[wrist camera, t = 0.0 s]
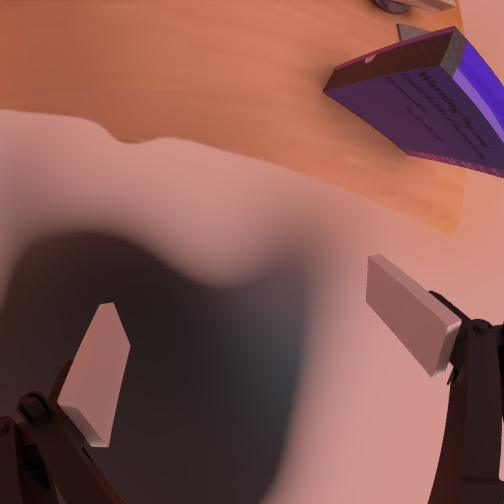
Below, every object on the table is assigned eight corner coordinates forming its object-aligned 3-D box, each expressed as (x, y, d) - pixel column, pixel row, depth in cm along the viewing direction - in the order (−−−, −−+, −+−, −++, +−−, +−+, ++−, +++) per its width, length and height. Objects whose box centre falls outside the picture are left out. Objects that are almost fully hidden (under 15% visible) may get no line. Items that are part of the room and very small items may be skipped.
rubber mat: (396, 24, 34) (398, 23, 33) (443, 36, 35) (445, 35, 34) (407, 91, 39) (409, 91, 38) (453, 97, 40) (455, 97, 39)
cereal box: (420, 131, 41) (542, 151, 19) (408, 155, 43) (531, 187, 20) (336, 66, 36) (456, 25, 14) (322, 92, 37) (441, 64, 15)
